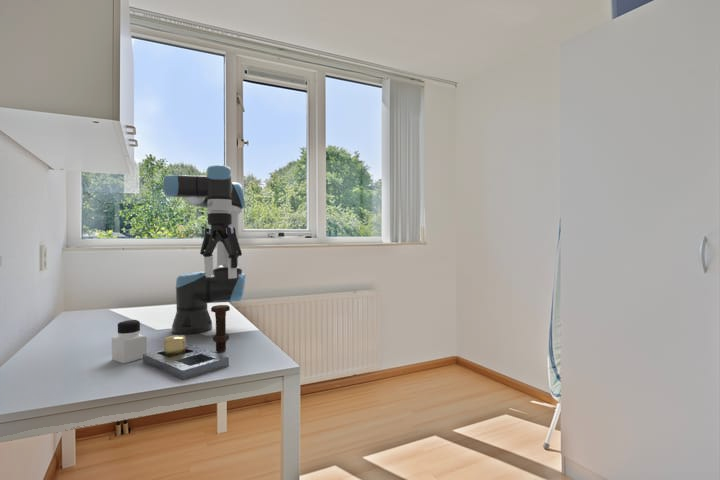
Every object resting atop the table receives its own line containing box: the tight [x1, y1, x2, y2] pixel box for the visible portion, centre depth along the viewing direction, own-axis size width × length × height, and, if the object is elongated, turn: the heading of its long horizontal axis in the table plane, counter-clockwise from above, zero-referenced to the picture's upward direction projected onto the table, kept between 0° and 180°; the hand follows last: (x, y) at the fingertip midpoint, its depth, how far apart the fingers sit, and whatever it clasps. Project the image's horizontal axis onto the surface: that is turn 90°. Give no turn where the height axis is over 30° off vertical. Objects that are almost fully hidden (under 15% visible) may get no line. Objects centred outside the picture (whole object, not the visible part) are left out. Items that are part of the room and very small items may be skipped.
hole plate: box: [142, 334, 230, 381], centre depth 119 cm, size 24×14×7 cm, turn 52°
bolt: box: [210, 304, 231, 353], centre depth 132 cm, size 6×5×15 cm
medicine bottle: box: [111, 319, 147, 364], centre depth 125 cm, size 7×7×12 cm
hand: (220, 277), depth 132 cm, fingers open, 13 cm apart
